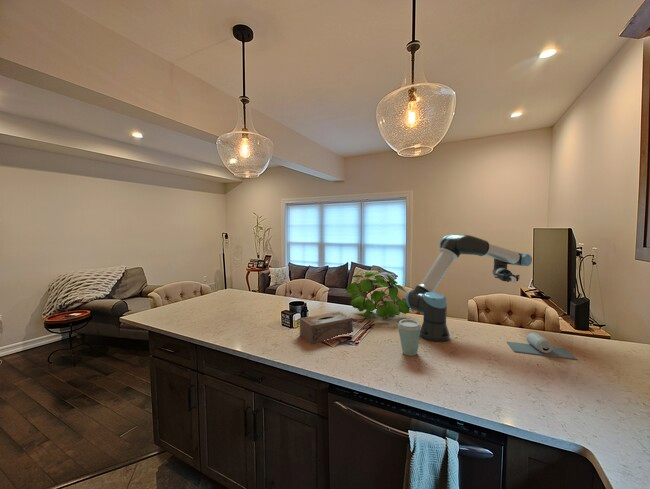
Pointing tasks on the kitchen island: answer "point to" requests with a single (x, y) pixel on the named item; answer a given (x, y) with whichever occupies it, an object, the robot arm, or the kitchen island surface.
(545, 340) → the beverage can
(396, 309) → the indoor plant
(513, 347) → the blue-grey rectangular board
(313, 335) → the tissue box cover
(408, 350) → the disposable coffee cup
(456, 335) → the kitchen island surface
